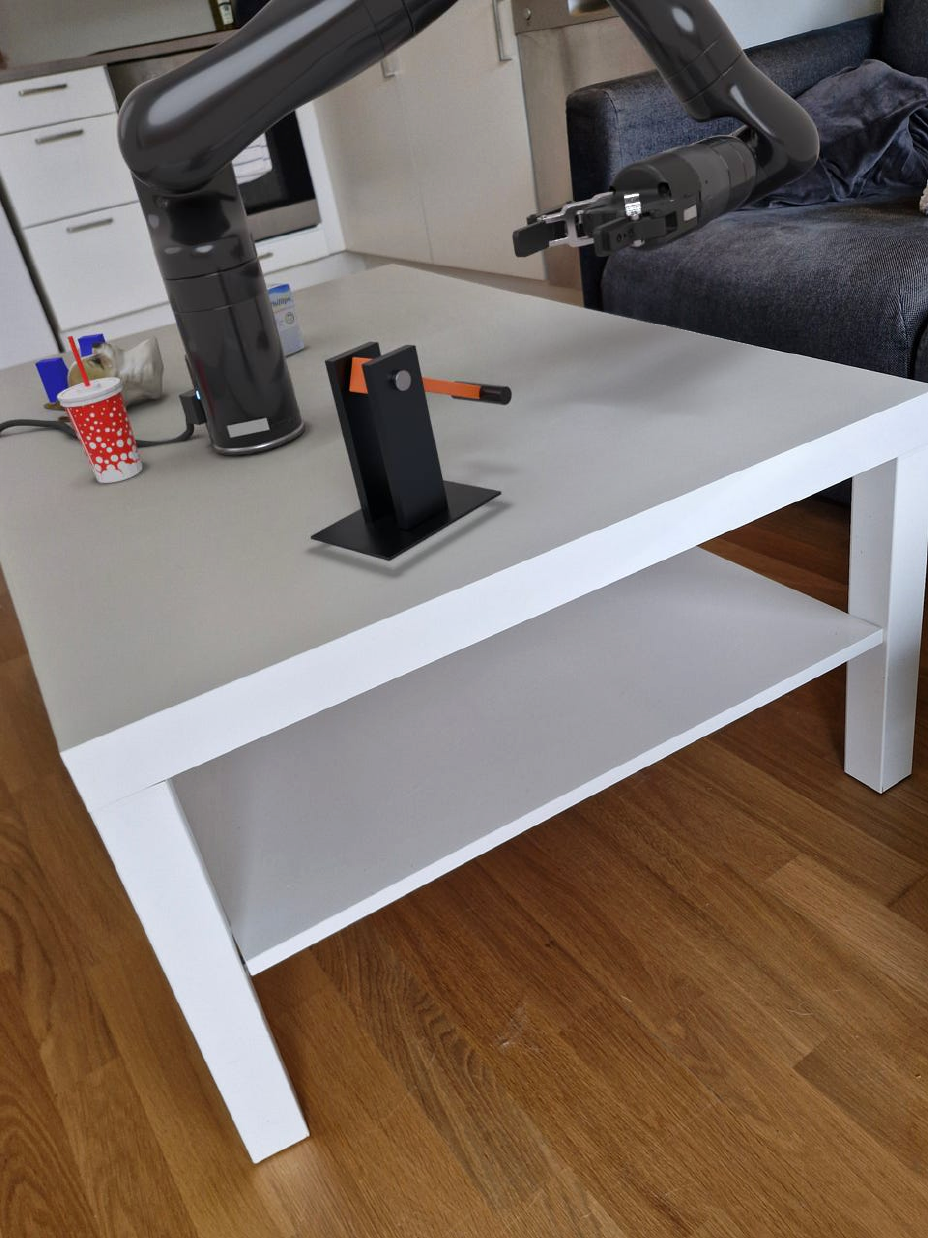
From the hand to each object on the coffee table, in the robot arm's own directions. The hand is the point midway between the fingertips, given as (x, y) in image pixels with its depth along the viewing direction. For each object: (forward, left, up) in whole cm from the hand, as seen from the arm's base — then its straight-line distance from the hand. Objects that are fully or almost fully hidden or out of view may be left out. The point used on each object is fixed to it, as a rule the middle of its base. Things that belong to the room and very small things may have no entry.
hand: (555, 244), depth 84 cm
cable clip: (-77, -9, -16) cm, 79 cm away
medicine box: (-60, +11, -16) cm, 63 cm away
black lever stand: (0, -21, -16) cm, 27 cm away
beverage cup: (-40, -24, -16) cm, 50 cm away
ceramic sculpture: (-62, -12, -16) cm, 65 cm away
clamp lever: (0, -17, -7) cm, 18 cm away
